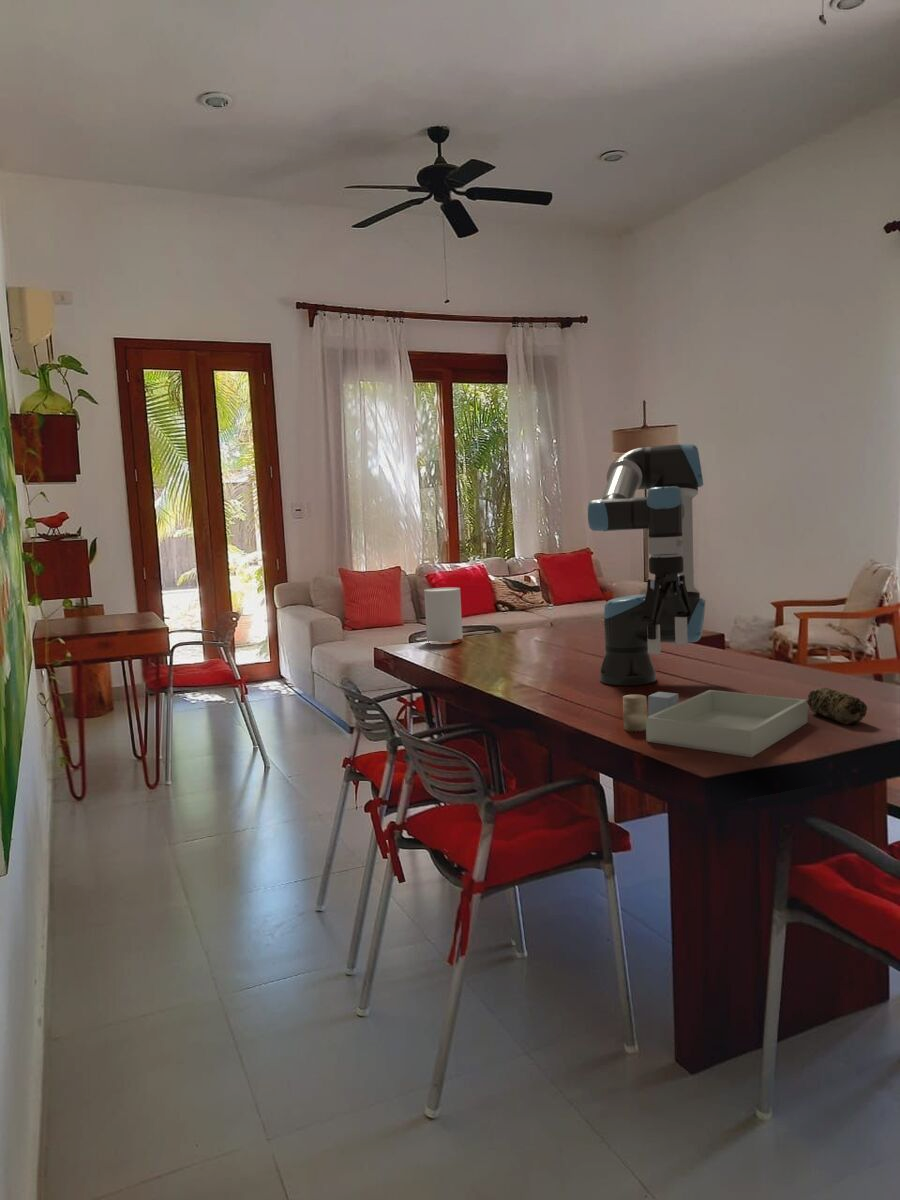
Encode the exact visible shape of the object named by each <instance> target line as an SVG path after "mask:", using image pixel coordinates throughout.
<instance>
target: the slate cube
mask: <svg viewBox="0 0 900 1200" xmlns="http://www.w3.org/2000/svg"><path fill="white" fill-rule="evenodd" d="M679 696H680V695H679V693H675V692H674V693H673V692H668V691H667V692H666V691H665V692H664V691H657V692H655V693H651V694H650V695H648V696H647V699H648V700H647V703H648V706H647V707H648V708H647V710H648V716H651V715H653V714H655V713H657V712H660V711H662V710H664V709H667V708H669V707H671V706H674V705H676V704H678V703H680V701H679V698H680V697H679Z"/></svg>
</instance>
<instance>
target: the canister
mask: <svg viewBox="0 0 900 1200" xmlns="http://www.w3.org/2000/svg"><path fill="white" fill-rule="evenodd" d="M423 596H424V609H425V611H424V612H425V631H426V642H427V641H428V642H429V641H438V642H446V641H451V640H457V639H462V638H463V619H462V601H461V600H462V598H461V588H460V587H435V588H426V589H423Z"/></svg>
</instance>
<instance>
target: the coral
mask: <svg viewBox="0 0 900 1200" xmlns="http://www.w3.org/2000/svg"><path fill="white" fill-rule="evenodd" d="M807 696H808V697H807V699H806V700H807V708H809V709H810V711H811V712H813V713H815V714H817V715H821V716H823V717H826V718H828V719H831V720H834V721H836V722H839V723H841V724H843V725H849V724H856V723H859V722H860V721H862V720H863V719H864V718H865V717H866V714H867V710H868V706H867V705H866V704H865V702H864V701H862V700H861V699H860V698H859V697H855V696H854V695H850V694H848V693H845V692H842V691H841V692H840V691H837V690H835V689H832V688H829V687H821V688H820V689H816V690H810V691H809V693H808V694H807Z"/></svg>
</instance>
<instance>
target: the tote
mask: <svg viewBox="0 0 900 1200" xmlns="http://www.w3.org/2000/svg"><path fill="white" fill-rule="evenodd" d="M807 700H808V699H805V698H804V699H802V698H793V697H792V698H791V697H783V696H774V695H773V696H772V695H764V694H754V693H753V694H752V693H747V692H746V693H744V692H737V691H736V692H735V691H725V690H715V689H708V690H705V691H704V692H701V693H699V694H697V695H695V696H692V697H690V698H687V699H685V700H682V701H681V702H680V701H679V703H678V704H676V705H674V706H671V707H669V708H667V709H664V710H662V711H660V712H657V713H655V714H653V715H651V716H649V715H647V717H646V730H645V735H646V736H645V737H646V738H645V739H646V742H649V743H654V744H661V745H668V746H675V747H682V748H686V749H693V750H694V749H695V750H699V751H708V752H715V753H719V754H727V755H734V756H741V757H747V758H753V757H754V756H756V755H758V754H759V753H761V752H763V751H765V750H767V748H769V747H771V746H773V745H774V744H776V743H777V742H779V741H780V740H783V738H785V737H787V736H788V735H790V734H791V733H794V732H795V731H797V730H799V729H800V728H801V727H803V726H804V725H806V724H808V721H809V719H808V704H807Z"/></svg>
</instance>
